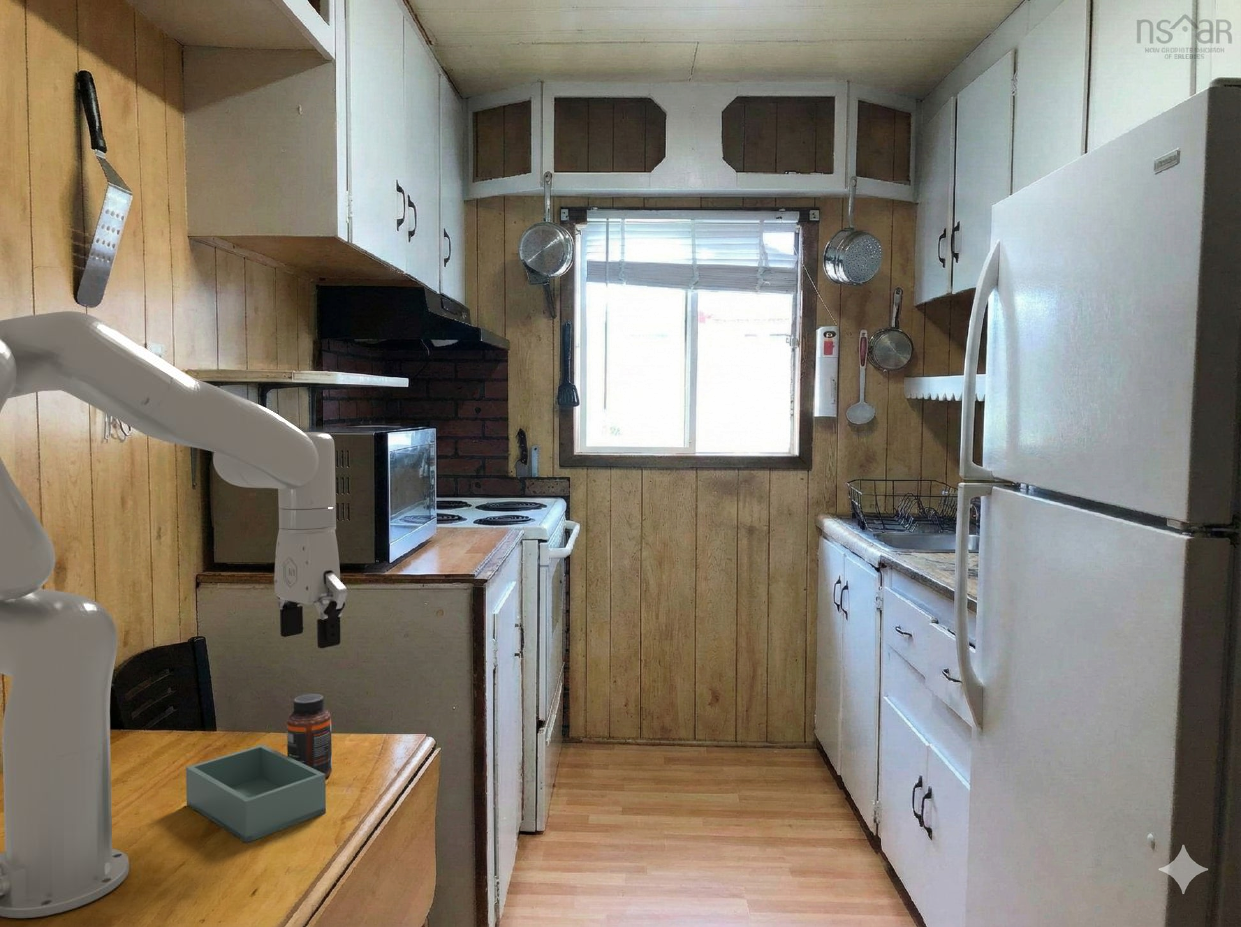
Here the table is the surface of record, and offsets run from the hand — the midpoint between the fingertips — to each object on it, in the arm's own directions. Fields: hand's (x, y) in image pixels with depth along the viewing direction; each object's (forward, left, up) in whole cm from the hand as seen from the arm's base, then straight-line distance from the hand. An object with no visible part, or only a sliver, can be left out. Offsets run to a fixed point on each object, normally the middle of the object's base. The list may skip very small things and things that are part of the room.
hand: (310, 640), depth 118 cm
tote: (-10, -4, -19) cm, 22 cm away
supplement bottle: (0, 0, -20) cm, 20 cm away
